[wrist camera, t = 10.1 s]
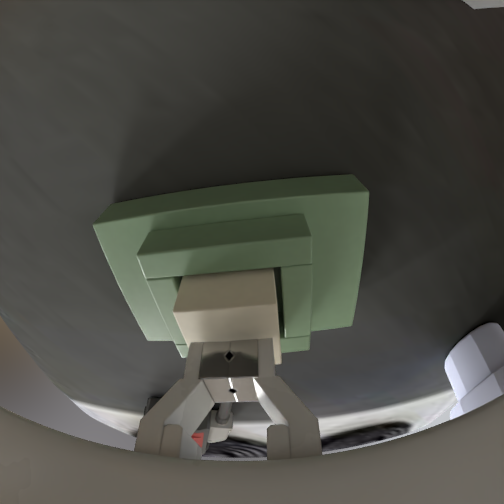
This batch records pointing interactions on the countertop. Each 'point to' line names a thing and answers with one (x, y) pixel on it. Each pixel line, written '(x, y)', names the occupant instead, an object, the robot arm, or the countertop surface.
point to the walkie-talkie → (208, 424)
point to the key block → (243, 249)
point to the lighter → (484, 3)
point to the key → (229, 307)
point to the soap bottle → (477, 368)
